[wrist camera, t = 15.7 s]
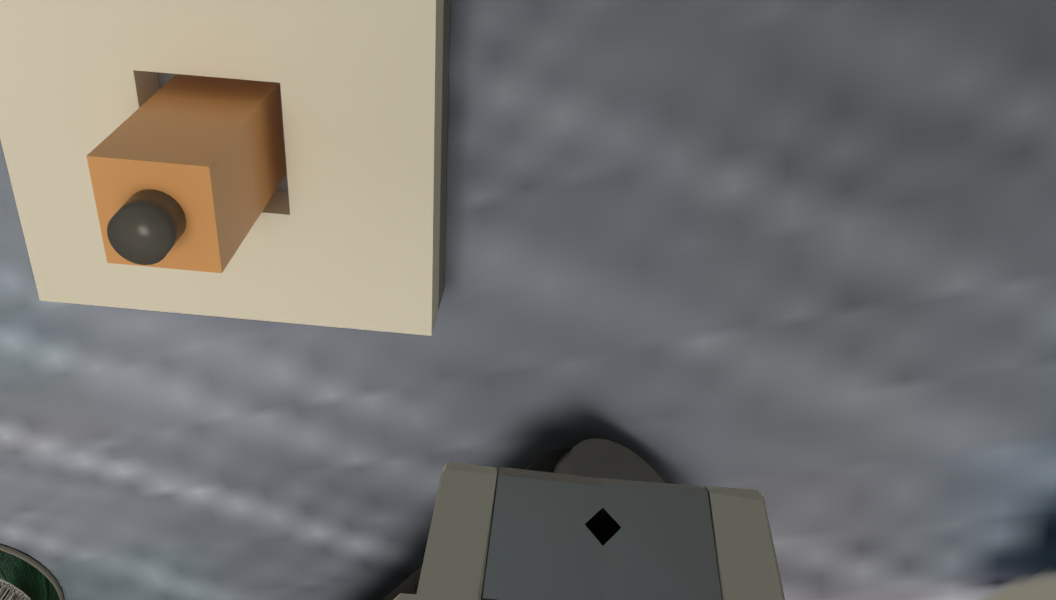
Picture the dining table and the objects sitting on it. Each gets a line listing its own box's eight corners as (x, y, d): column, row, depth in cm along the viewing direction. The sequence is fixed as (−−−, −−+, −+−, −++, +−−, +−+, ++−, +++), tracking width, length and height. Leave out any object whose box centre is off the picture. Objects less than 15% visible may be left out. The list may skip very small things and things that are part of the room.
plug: (279, 81, 38) (192, 187, 30) (286, 174, 40) (207, 296, 32) (178, 72, 38) (64, 175, 30) (190, 166, 40) (87, 285, 32)
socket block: (452, -76, 36) (436, -52, 33) (444, 287, 45) (431, 335, 42) (4, -113, 37) (-57, -93, 33) (81, 254, 45) (39, 300, 42)
